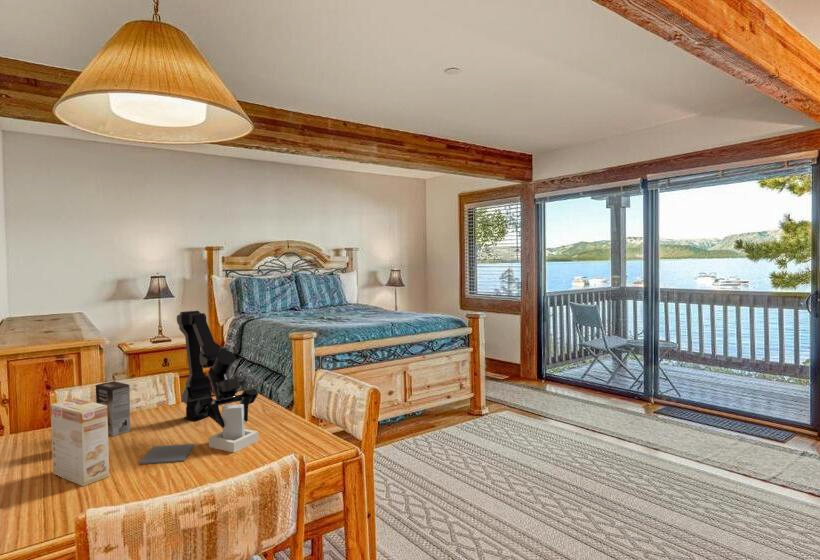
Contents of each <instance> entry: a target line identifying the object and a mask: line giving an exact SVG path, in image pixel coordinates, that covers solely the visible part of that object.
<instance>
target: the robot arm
mask: <svg viewBox="0 0 820 560" xmlns="http://www.w3.org/2000/svg"><path fill="white" fill-rule="evenodd" d="M176 322H177V325H178V329H179V330H180V332H181V333H182V334H183V335H184V337H185V346H186V347H185V348H186V355H187V364H188V372H189V373H188V374H189V375H188V378H187V379H186V381H185V388H184V391H183V393H182V395H181V397H182V402H183V404H186V407H185V416H184V417H183V419H185V420H189V421H190V420H191V421H194V422H198V421H199V420H200V421H201V420H203V419H206V418H208V417H209V418H211V420H213V421H214V422H216V423H217V425H219V426H220V427H221V428H222V429H223V428H224V427H225V425H224V421H223V418H222V413H221V412H220V406H222V405H223V406H224V405H229V404H233V403H236V402H237V403H238V402H239V404H244V423H247V422H248V420H249V419H248V418H249V416H248V415H249V405H250V404H253V403H254V402H255V401H256V399H257V397H258V396H259V392H258V390H257V388H255V387H251V388H247V389H244V390H243V391H242V393H241V394H237V393H238V392H239V389H241V387H242V386H244V385H246V381H245V378H244V375H237V376H236V377H235V378H230V376H229V374H228V373H230V371H231V370H232V368H233V366H234V363H235V361H236V355H235V353H234V352H232V351H231V350H227V348H226V347H222V346H221V345H220V344H219V343H216V341H215V340H214V337H213V334H212V332H211V329H210V327H209V325H208V321H207V315H206V313H205V312H204V313H203V312H200V311H199V310H189V311H188V310H187V311H186V310H185V311H180V312H179V314H177V316H176ZM204 368H205V369H207V368H209V370H208V372H207V375H206V374H205V373H204ZM213 394H214V396H215V399H214V398H213V397H212V395H213ZM236 394H237V395H236Z"/></svg>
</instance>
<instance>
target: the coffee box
mask: <svg viewBox="0 0 820 560" xmlns="http://www.w3.org/2000/svg"><path fill="white" fill-rule="evenodd" d="M130 391H131V389H130V384H128V383H123V382H119V381H115V380H114V381H108V382H102V383H98V384H96V385H95V401H96V402H95V403H98V404H103V405H107V416H108V436H110V437H116V436H118V435H122V434H124V433H127V432H131V393H130Z"/></svg>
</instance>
